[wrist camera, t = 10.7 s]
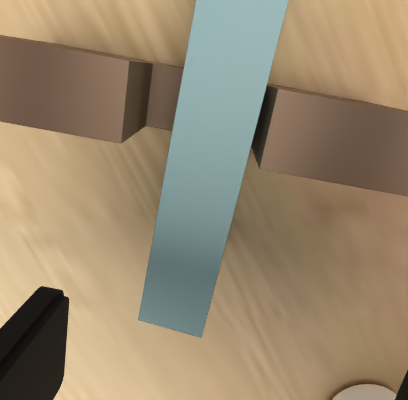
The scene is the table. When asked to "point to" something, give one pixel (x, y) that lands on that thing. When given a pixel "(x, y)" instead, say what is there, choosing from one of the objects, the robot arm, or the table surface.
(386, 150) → the slotted stand
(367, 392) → the drinking glass
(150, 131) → the table surface
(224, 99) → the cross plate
